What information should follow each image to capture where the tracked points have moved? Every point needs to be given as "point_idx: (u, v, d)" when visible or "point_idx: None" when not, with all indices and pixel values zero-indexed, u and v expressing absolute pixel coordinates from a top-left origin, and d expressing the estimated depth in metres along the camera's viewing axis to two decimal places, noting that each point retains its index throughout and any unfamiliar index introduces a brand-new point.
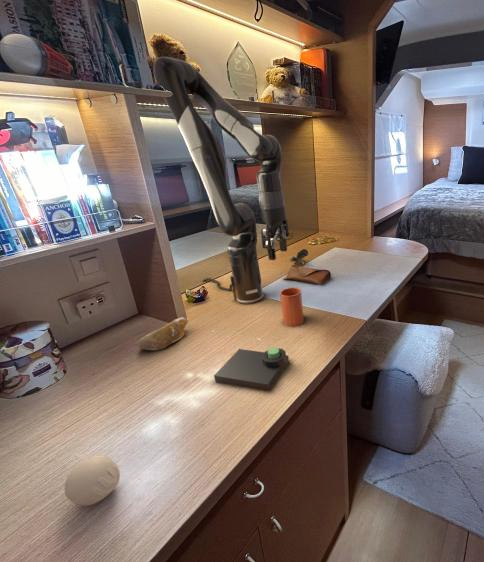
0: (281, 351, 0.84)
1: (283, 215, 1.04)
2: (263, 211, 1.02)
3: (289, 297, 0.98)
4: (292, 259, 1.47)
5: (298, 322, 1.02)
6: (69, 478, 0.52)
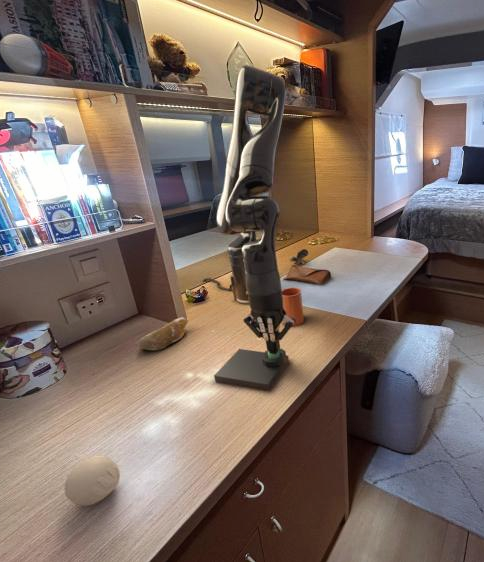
0: (281, 351, 0.84)
1: (256, 306, 0.74)
2: None
3: (289, 297, 0.98)
4: (292, 259, 1.47)
5: (298, 322, 1.02)
6: (69, 478, 0.52)
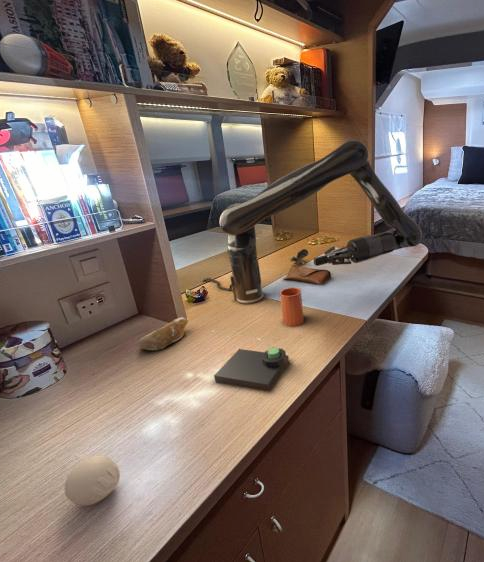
0: (281, 351, 0.84)
1: None
2: (367, 248, 1.04)
3: (289, 297, 0.98)
4: (292, 259, 1.47)
5: (298, 322, 1.02)
6: (69, 478, 0.52)
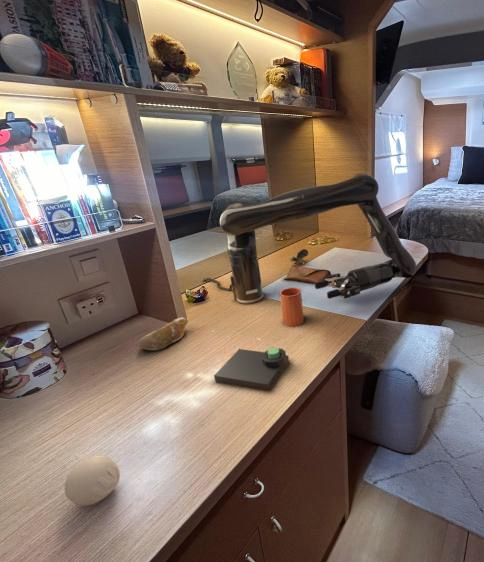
0: (281, 351, 0.84)
1: None
2: (367, 279, 1.10)
3: (289, 297, 0.98)
4: (292, 259, 1.47)
5: (298, 322, 1.02)
6: (69, 478, 0.52)
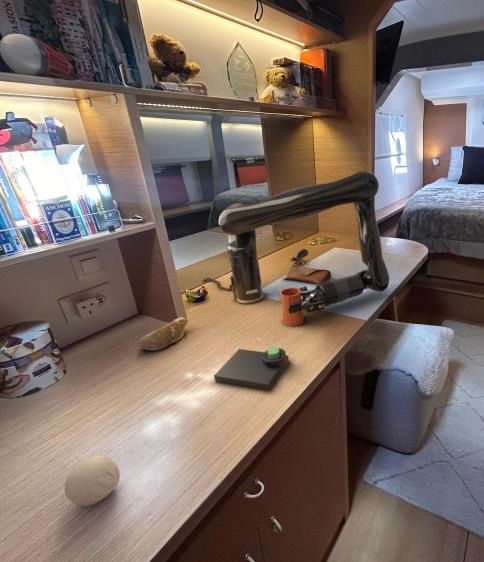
0: (281, 351, 0.84)
1: None
2: (335, 293, 1.05)
3: (289, 297, 0.98)
4: (292, 259, 1.47)
5: (298, 322, 1.02)
6: (69, 478, 0.52)
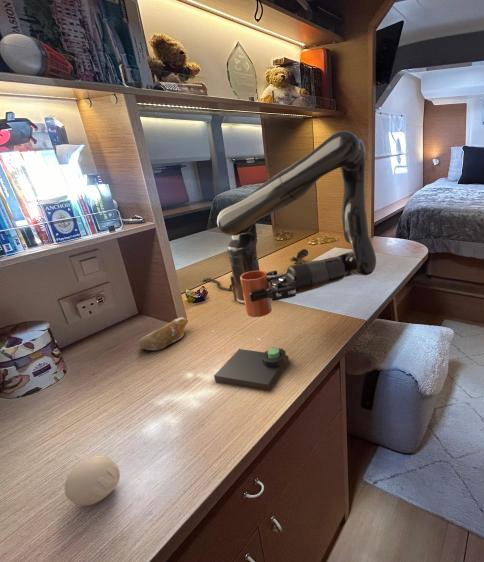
0: (281, 351, 0.84)
1: None
2: (309, 277, 0.87)
3: (251, 281, 0.80)
4: (292, 259, 1.47)
5: (264, 312, 0.84)
6: (69, 478, 0.52)
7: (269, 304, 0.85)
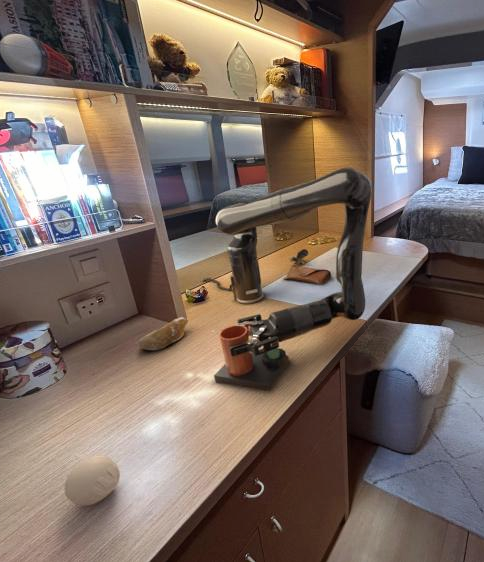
0: (281, 351, 0.84)
1: None
2: (292, 326, 0.81)
3: (230, 340, 0.75)
4: (292, 259, 1.47)
5: (244, 371, 0.79)
6: (69, 478, 0.52)
7: (250, 361, 0.80)
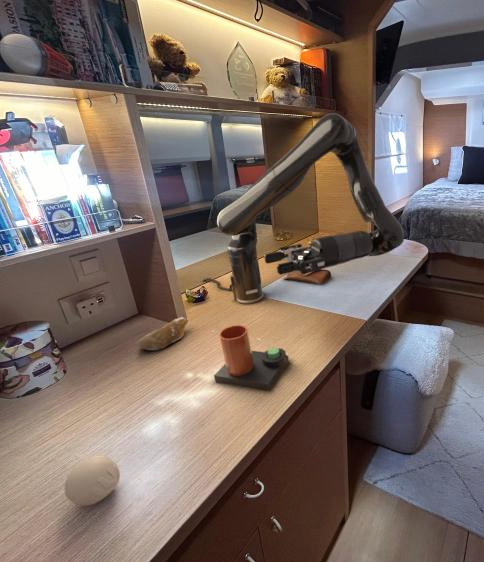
0: (281, 351, 0.84)
1: None
2: (336, 250, 0.81)
3: (230, 340, 0.75)
4: None
5: (244, 371, 0.79)
6: (69, 478, 0.52)
7: (250, 361, 0.80)
